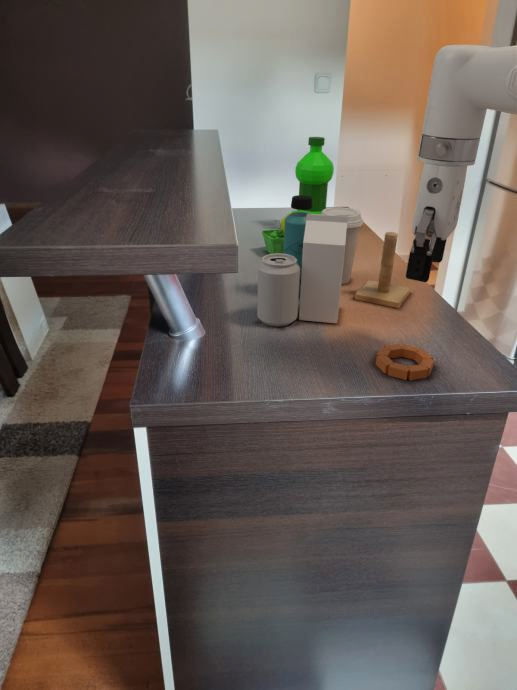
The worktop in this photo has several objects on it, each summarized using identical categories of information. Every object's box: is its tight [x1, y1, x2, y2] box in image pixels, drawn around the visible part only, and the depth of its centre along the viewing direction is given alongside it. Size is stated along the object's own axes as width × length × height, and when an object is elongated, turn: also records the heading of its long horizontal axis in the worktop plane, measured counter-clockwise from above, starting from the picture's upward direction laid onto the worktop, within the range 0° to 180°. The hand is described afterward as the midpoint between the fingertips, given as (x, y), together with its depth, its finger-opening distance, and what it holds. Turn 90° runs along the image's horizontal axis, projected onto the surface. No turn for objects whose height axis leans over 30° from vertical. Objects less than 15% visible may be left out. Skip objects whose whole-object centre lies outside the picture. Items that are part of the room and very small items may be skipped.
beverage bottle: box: [282, 194, 313, 294], centre depth 102 cm, size 6×7×20 cm
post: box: [354, 231, 411, 309], centre depth 103 cm, size 9×9×13 cm
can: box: [256, 253, 300, 327], centre depth 93 cm, size 8×8×12 cm
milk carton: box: [298, 214, 348, 324], centre depth 93 cm, size 7×7×19 cm
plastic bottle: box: [294, 136, 335, 215], centre depth 142 cm, size 10×10×25 cm
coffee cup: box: [321, 206, 364, 285], centre depth 111 cm, size 10×10×15 cm
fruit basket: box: [261, 210, 298, 254], centre depth 127 cm, size 11×9×11 cm
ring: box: [375, 343, 435, 381], centre depth 81 cm, size 8×8×2 cm
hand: (424, 269), depth 78 cm, fingers open, 9 cm apart
